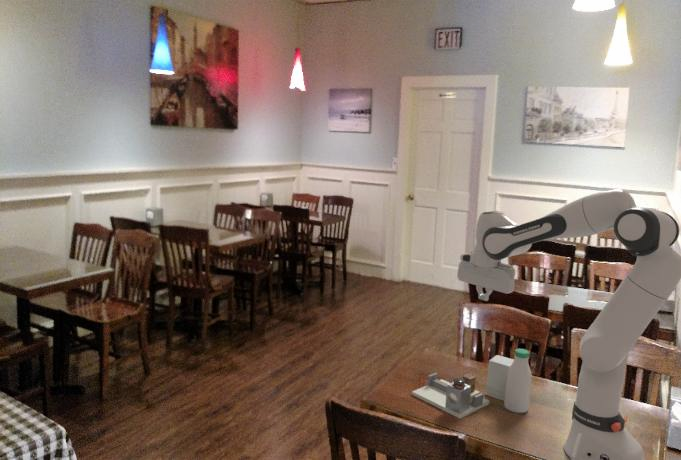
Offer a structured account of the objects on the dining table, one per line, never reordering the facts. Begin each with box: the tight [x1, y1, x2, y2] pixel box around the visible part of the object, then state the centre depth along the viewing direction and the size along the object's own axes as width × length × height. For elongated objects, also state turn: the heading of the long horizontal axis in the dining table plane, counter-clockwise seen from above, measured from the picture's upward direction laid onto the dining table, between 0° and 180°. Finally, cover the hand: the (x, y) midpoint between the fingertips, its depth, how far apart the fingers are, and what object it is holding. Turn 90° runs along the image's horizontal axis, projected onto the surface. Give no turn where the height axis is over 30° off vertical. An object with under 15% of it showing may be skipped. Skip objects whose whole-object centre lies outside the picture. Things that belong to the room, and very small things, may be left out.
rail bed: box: [411, 372, 490, 420], centre depth 187 cm, size 20×16×5 cm
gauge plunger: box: [453, 377, 465, 389], centre depth 179 cm, size 4×4×8 cm
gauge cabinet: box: [445, 381, 471, 414], centre depth 179 cm, size 5×6×9 cm
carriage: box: [462, 373, 481, 405], centre depth 184 cm, size 6×5×8 cm
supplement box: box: [485, 354, 515, 402], centre depth 192 cm, size 7×7×13 cm
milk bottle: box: [503, 348, 533, 414], centre depth 182 cm, size 8×8×20 cm
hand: (483, 299), depth 186 cm, fingers closed
